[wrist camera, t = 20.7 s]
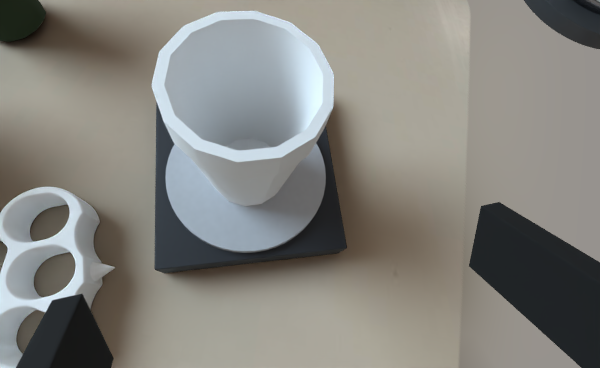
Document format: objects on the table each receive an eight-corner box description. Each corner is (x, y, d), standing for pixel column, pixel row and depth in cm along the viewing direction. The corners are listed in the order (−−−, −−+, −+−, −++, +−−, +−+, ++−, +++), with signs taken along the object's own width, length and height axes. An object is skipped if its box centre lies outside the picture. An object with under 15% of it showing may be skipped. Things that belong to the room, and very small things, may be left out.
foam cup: (263, 109, 32) (271, -11, 20) (321, 185, 30) (369, 104, 18) (172, 158, 29) (117, 52, 17) (230, 245, 27) (214, 197, 15)
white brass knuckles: (-36, 190, 29) (137, 203, 31) (-138, 435, 23) (86, 435, 25) (-71, 176, 26) (125, 191, 28) (-198, 455, 20) (63, 454, 22)
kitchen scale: (312, 93, 38) (318, 71, 34) (338, 253, 32) (349, 246, 29) (164, 98, 35) (154, 74, 32) (163, 273, 29) (151, 268, 26)
